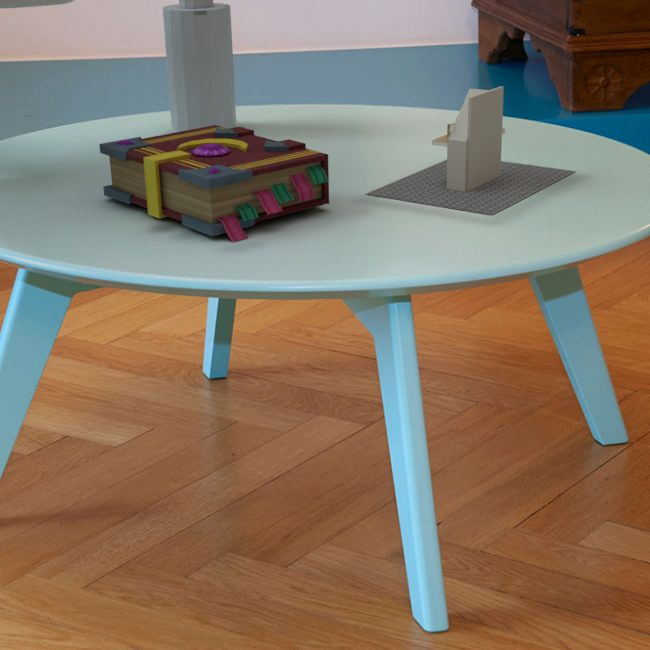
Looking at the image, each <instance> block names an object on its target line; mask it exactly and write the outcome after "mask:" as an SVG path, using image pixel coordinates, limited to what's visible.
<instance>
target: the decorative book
mask: <svg viewBox="0 0 650 650" xmlns="http://www.w3.org/2000/svg"><path fill="white" fill-rule="evenodd" d="M98 145H99V154H102V155H105V156H108V157H109V165H110V166H109V167H110V177H111V178H110V179H111V184H109V185H104V186H103V195H104V197H108V198H111V199H114V200H117V201H119V202H122V203H125V204H127V205H131V204H135V205H137V206H140V207H142V208H145V209H147V215H149V216H151V217H154V218H156V219H158V220H159V219H164V218H168V217H169V218H172V219H175V220H176V221H180V222H181V225H182V226H184V227H187V228H190V229H192V230H194V231H197V232H200V233H202V234H205V235H207V236H209V237H217V236H220V235H224V234H227V237H229V239H230V240H231V242H232V243H234V242H238V241H242V240H246V239H248V235H247V234H246V233H245V232H244V230H243V229H246V228H250V227H254V226H255V225H256V224H255V223H259V222H262V221H266V220H271V219H274V218H278V217H281V216H286V215H290V214H293V213H297V212H301V211H305V210H309V209H312V208H318V207H321V206H325V205H329V204H330V181H329V179H330V178H329V177H330V176H329V154H328V153H324V152H320V151H317V150H313V149H309V148H307V144H306V143H305V142H302V141H298V140H294V139H290V138H289V139H283V140H274V139H271V138H267V137H262V136H259V135H255V130H254V129H250V128H246V127H242V126H236V127H234V128H225V127H221V126H217V125H213V126H208V127H202V128H197V129H192V130H186V131H181V132H176V133H173V132H170V133H165V134H160V135H154V136H150V137H144V138H142V137H141V136H137V137H136V136H135V137H132V138H130V137H129V138H124V139H120V140H119V139H118V140H113V141H108V142H102V143H99V144H98Z"/></svg>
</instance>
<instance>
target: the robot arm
mask: <svg viewBox="0 0 650 650" xmlns="http://www.w3.org/2000/svg"><path fill="white" fill-rule="evenodd" d="M73 2H75V0H0V9H21V8H35V7H47V6H59V5H67V4H70V3H73Z"/></svg>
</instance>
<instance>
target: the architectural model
mask: <svg viewBox="0 0 650 650" xmlns="http://www.w3.org/2000/svg"><path fill="white" fill-rule="evenodd" d="M504 87H505V86H503V85H501V86H497V87H495V88H492V89H489V90H488V89H482V88H481V89H480V88H479V89H478V88H469V89H468V91H467V93H466V96H465V98H464V100H463V102H462V105H461V107H460V109H459V111H458V112H459V113H457V117H456V119H455V121H454V122H453V123H447V125H446V129H447V130H446V131H447V132H446V134H445V135H441V136H439V137H437V138H435V139H432V140H431V145H432V146H437V147H445V148H447V150H446V152H447V153H446V159H445V160H442V161H441V162H438V163H436V164H433V165H430V166H429V167H426V168H423V169H421V170H419V171H417V172H413V173H412V174H409V175H407V176H405V177H402V178H400V179H397V180H395V181H392V182H391V183H388V184H386V185H383V186H381V187H378V188H376V189H374V190H371V191H369V192H367V193H365V195H370V196H375V197H381V198H387V199H393V200H399V201H405V202H410V203H416V204H417V203H418V204H425V205H428V206H429V205H430V206H435V207H442V208H448V209H452V210H453V209H454V210H460V211H466V212H471V213H478V214H485V215H489V216H490V215H491V216H493V215H495V214H497V213H500V212H501V211H503V210H504V209H506V208H508V207H511V206H512V205H514V204H516V203H518V202H520V201H522V200H523V199H525V198H527V197H530V196H531V195H533V194H535V193H538V192H539V191H541V190H542V189H545V188H546V187H549V186H551V185H552V184H554V183H556V182H558V181H560V180H562V179H564V178H566V177H568V176H569V175H571V174H573V173H575V172H576V170H569V169H562V168H555V167H550V166H549V167H548V166H540V165H534V164H525V163H518V162H510V161H505V160H502V144H503V143H502V142H503V141H502V140H503V135H504V134H506V128H503V119H504V118H503V117H504V91H505V90H504V89H505V88H504ZM451 126H452V127H451Z"/></svg>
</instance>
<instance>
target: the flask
mask: <svg viewBox="0 0 650 650" xmlns="http://www.w3.org/2000/svg"><path fill="white" fill-rule="evenodd" d="M162 17H163V32H164V44H165V46H164V47H165V57H166V71H167V73H166V74H167V86H168V99H169V100H168V101H169V113H170V115H169V116H170V124H171V131H172V132H171V133H176V132H181V131H186V130H192V129H197V128H202V127H208V126H213V125H217V126H221V127H225V128H234V127H237V111H236V110H237V109H236V92H235V91H236V90H235V75H234V74H235V72H234V53H233V34H232V31H233V30H232V11H231V4H228V3H223V2H214V0H178V3H176V4H169V5H166V6H163V7H162Z"/></svg>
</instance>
